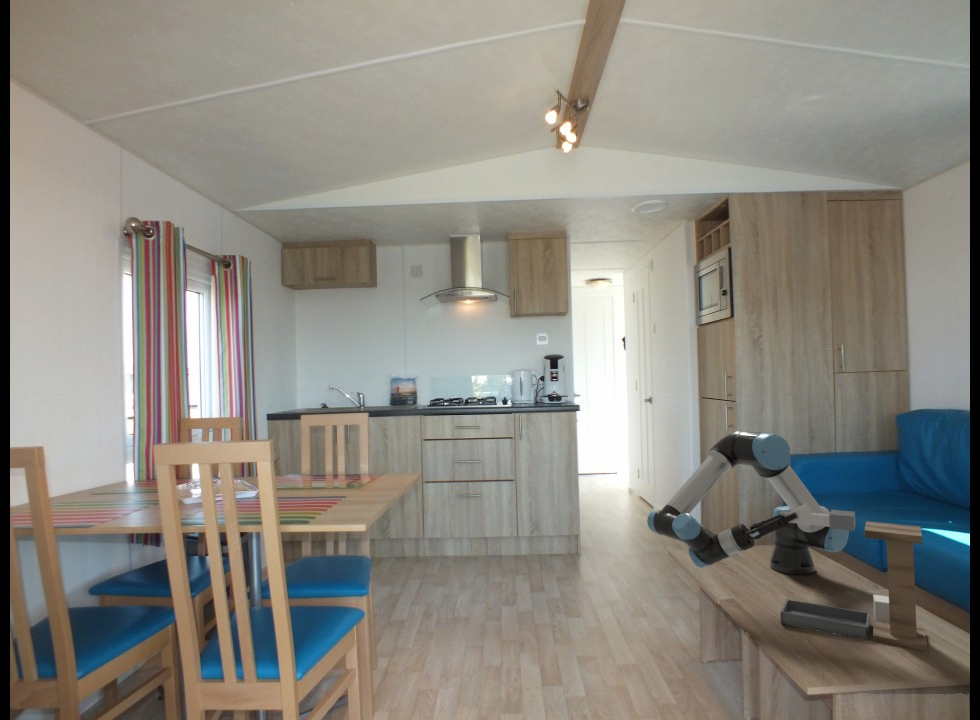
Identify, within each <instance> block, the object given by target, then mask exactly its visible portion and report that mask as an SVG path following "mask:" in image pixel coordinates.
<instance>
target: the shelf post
mask: <svg viewBox="0 0 980 720" xmlns="http://www.w3.org/2000/svg"><path fill="white" fill-rule="evenodd" d="M864 538H865V539H875V540H881V541H882V540H884V541H886V552H887V553H886V554H887V555H886V558H887V560H886V561H887V579H888V580H887V582H888V585H887V586H888V597H889V613H890V623H887V622H881V621H875V620H873V628H872V629H873V630H872V641H873V642H875V643H881V644H886V645H891V646H898V647H903V648H908V649H914V650H919V651H925V652H927V651H928V649H927V639H926V631H925V628H922V627H921V628H920V627H917V608H916V586H915V585H916V582H915V581H916V579H915V559H914V558H915V556H914V544H919V545H923V534H922V529H921V525H920V526H919V525H910V524H909V525H908V524H899V523H888V522H879V521H878V522H877V521H865V526H864Z"/></svg>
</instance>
